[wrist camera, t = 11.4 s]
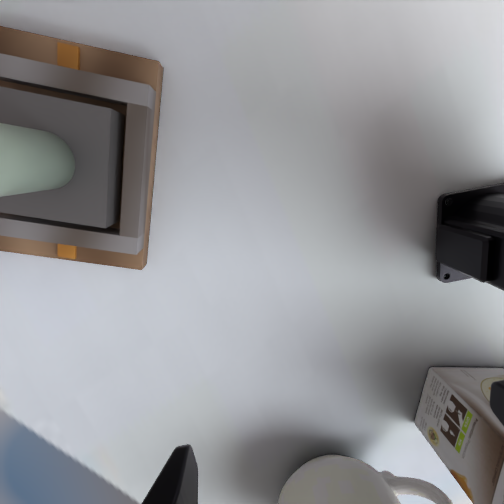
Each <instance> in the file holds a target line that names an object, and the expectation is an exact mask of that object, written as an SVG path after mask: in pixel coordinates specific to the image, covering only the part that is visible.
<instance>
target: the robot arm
mask: <svg viewBox="0 0 504 504" xmlns="http://www.w3.org/2000/svg"><path fill="white" fill-rule="evenodd" d="M447 199H448V203H447V204H445V201H446V200H447ZM436 260H437V279H438V280H440V281H442V282H444V283H448V282H453V281H458V280H463V279H468V278H474V279H476V280H478V281H480V282H486V283H488V284H491V285H493V286H495V287H497V288H499V289H501V290H504V183H501V184H496V185H490V186H485V187H480V188H474V189H469V190H464V191H458V192H453V193H448V194H444V195H442V196H441V197H440V198H439V199H438V216H437V237H436ZM445 274H446V276H445V277H444V275H445ZM489 404H490V407H491V410H492V412H493V413H494V414H495V416H496V417H497V418H498V420H499V421H500V422H501V424H502V425H503V426H504V380H499V381H494V382H493V383H492V384H491V389H490V401H489ZM142 504H198V467H197V463H196V459H195V456H194V453H193V450H192V447H191V445H189V444H187V445H182V446H178V447H176V448H175V449H174V451H173V453H172V454H171V456H170V458H169V459H168V461H167V463H166V464H165V466H164V467H163V469H162V471H161V472H160V474H159V476H158V477H157V479H156V481H155V482H154V484H153V486H152V487H151V489H150V491H149V492H148V494H147V496H146V497H145V499H144V501H143V502H142Z"/></svg>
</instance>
